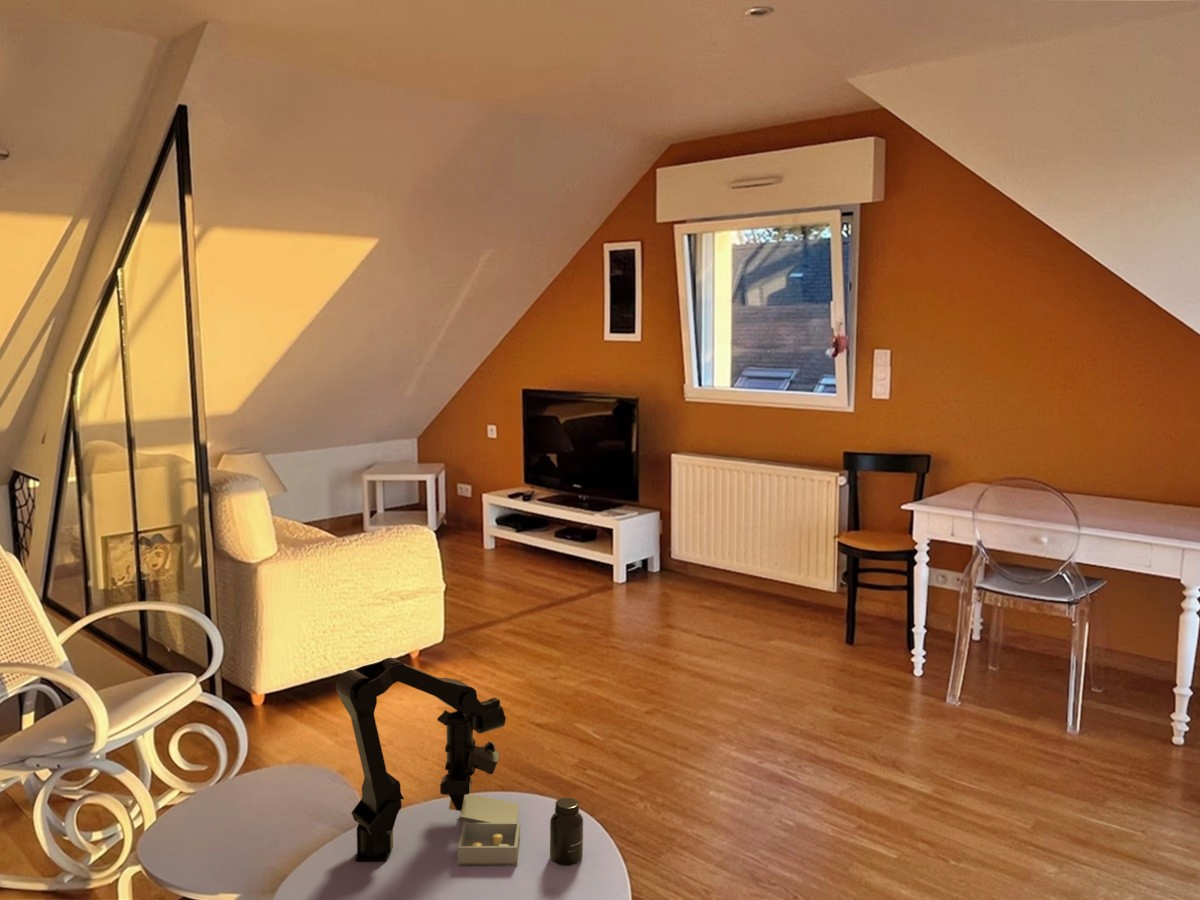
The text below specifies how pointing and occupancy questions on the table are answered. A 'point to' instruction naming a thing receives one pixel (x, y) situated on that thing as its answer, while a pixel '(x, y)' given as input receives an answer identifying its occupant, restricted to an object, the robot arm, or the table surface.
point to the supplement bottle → (566, 833)
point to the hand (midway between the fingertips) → (460, 806)
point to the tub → (489, 844)
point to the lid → (487, 810)
